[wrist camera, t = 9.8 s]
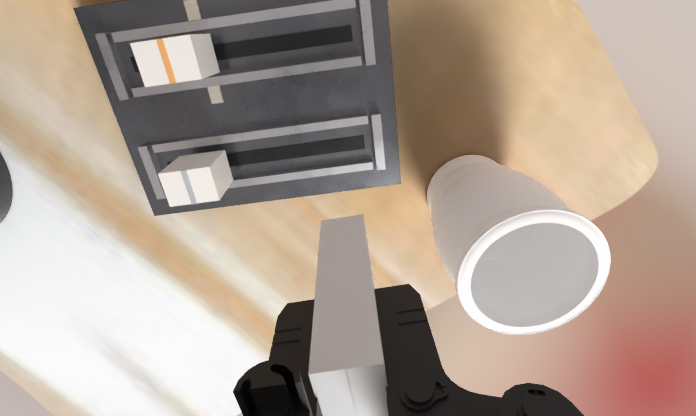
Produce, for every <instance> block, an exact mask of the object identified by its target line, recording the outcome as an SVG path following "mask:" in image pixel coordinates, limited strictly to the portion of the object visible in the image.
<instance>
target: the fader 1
mask: <svg viewBox="0 0 696 416" xmlns="http://www.w3.org/2000/svg"><path fill="white" fill-rule="evenodd" d="M130 45H131V48H132V51H133V54H134V57H135V60H136V62H137V65H138V68H139V71H140V74H141V77H142V80H143V83H144V86H145V87H150V86H157V85H164V84H172V83H178V82H185V81H192V80H199V79H204V78H206V77H209V76H211V75H214V74H217V73H219V72H220V71H219V67H218V63H217V59H216V55H215V51H214V48H213V44H212V40H211V36H210V33H209V34H189V35H183V36H176V37H169V38H162V39H155V40H148V41H141V42H135V43H130Z"/></svg>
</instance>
